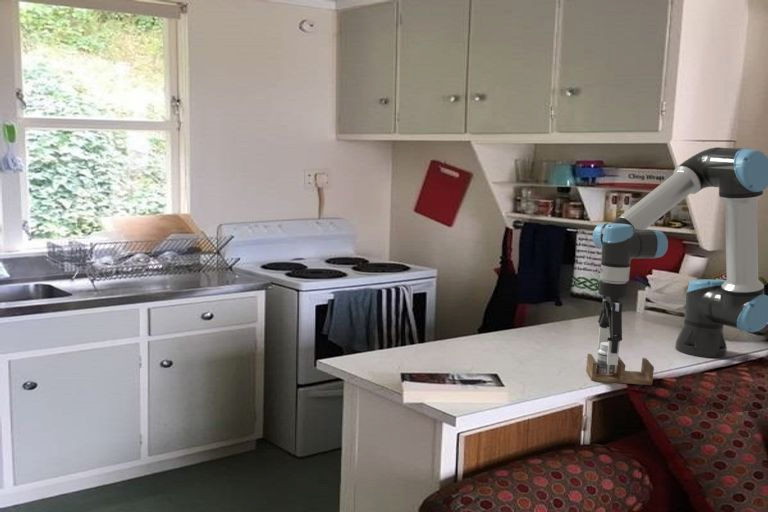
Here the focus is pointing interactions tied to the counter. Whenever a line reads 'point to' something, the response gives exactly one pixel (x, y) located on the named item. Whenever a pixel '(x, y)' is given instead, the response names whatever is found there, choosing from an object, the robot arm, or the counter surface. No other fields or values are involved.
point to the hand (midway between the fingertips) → (607, 357)
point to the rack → (622, 373)
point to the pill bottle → (604, 361)
